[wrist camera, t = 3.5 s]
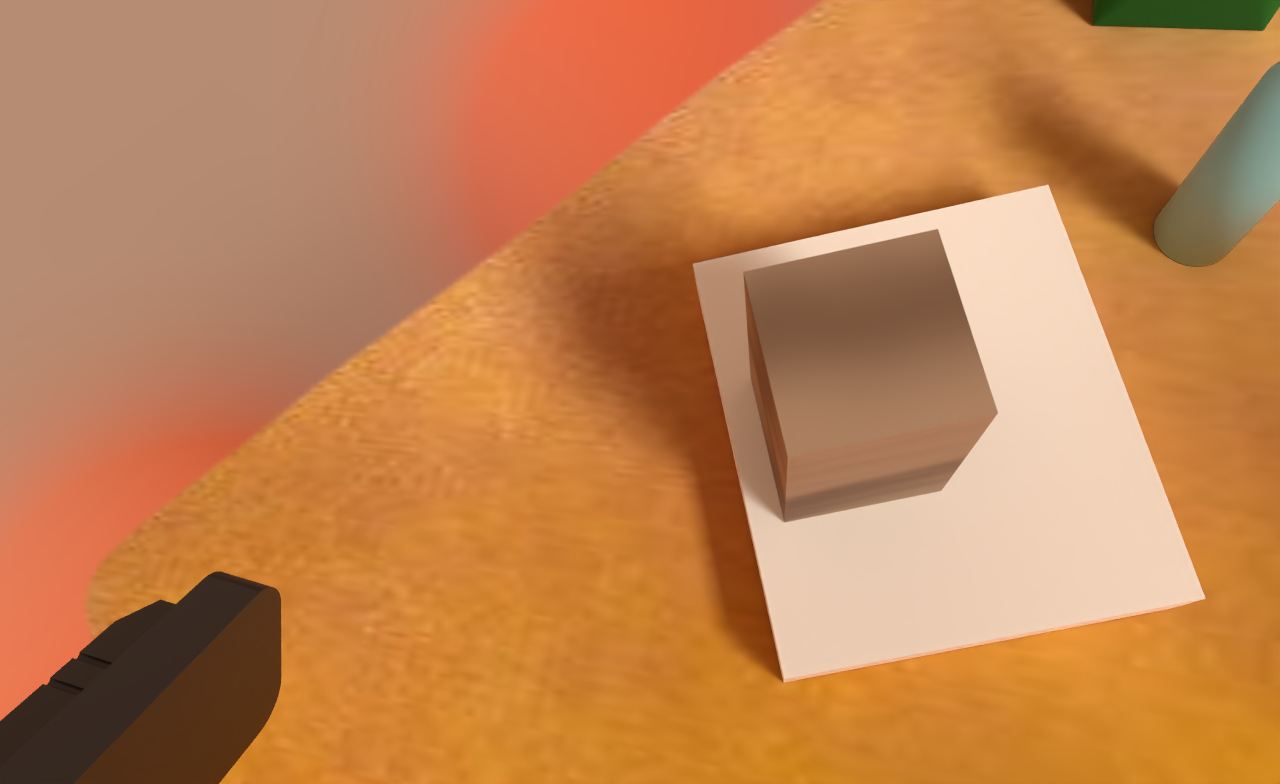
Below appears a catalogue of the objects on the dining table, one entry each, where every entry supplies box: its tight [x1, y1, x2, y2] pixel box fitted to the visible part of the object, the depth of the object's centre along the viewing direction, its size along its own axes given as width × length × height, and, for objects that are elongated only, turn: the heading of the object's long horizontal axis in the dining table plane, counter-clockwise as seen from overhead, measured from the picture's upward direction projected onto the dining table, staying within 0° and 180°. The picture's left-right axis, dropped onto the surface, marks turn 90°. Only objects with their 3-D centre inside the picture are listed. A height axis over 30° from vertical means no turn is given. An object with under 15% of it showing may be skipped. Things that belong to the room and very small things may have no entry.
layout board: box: [693, 185, 1205, 683], centre depth 36 cm, size 16×14×3 cm
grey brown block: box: [743, 229, 998, 523], centre depth 30 cm, size 6×6×9 cm
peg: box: [1153, 62, 1280, 267], centre depth 34 cm, size 3×3×9 cm
